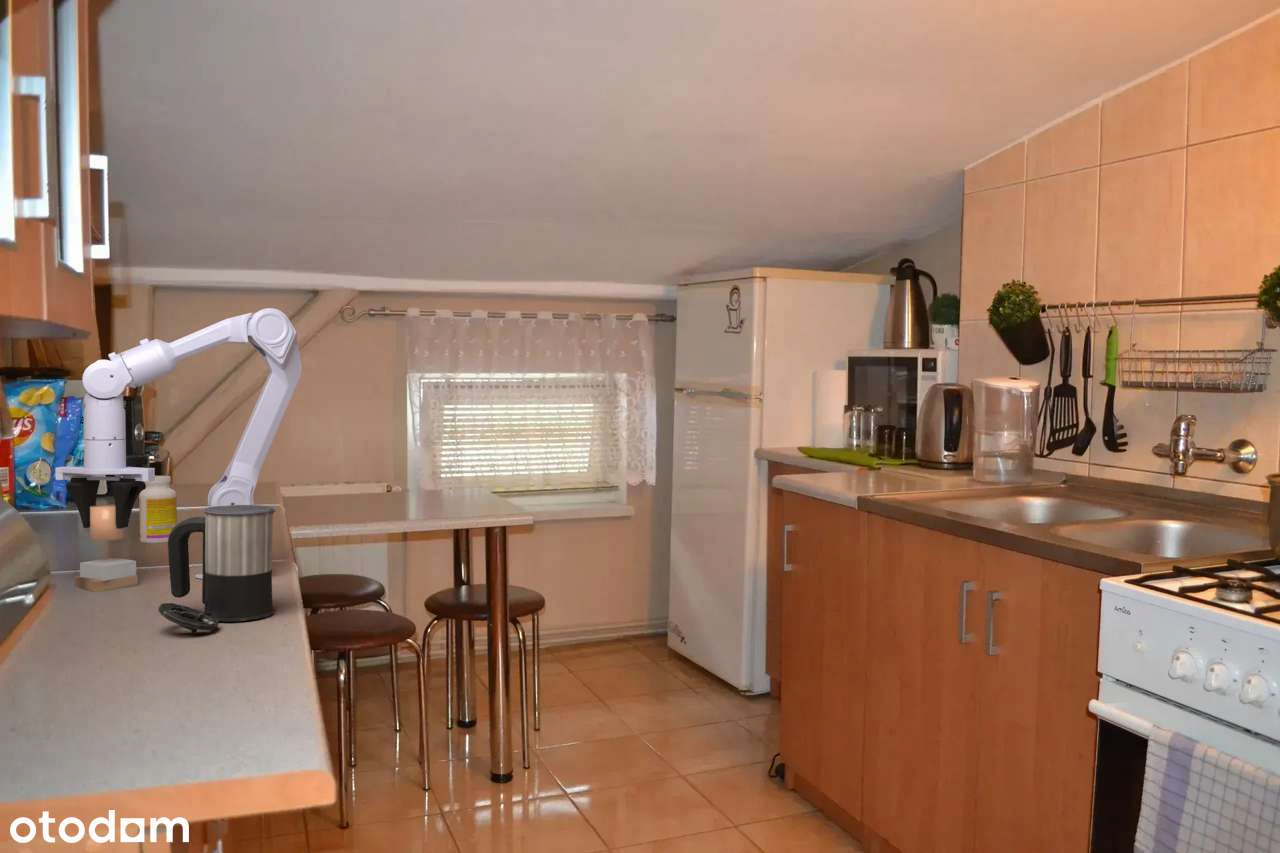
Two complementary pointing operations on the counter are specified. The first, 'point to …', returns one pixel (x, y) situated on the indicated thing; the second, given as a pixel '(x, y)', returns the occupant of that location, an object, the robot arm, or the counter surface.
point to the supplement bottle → (157, 510)
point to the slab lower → (105, 583)
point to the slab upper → (107, 569)
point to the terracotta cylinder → (104, 523)
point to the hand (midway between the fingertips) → (105, 527)
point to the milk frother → (224, 566)
